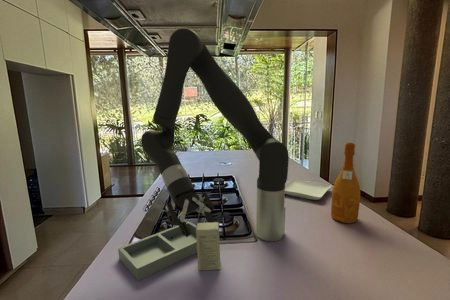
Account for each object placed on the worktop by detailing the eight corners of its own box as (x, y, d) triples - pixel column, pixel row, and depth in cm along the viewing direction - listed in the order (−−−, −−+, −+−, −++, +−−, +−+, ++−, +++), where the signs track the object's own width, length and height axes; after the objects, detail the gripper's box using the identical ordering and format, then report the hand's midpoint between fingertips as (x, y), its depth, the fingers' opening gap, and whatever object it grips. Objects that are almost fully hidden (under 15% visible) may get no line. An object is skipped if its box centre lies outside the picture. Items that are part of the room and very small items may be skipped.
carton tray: (189, 230, 94) (189, 221, 93) (212, 244, 84) (212, 234, 84) (119, 258, 77) (118, 248, 77) (138, 280, 68) (137, 268, 67)
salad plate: (292, 183, 145) (292, 177, 145) (332, 191, 133) (332, 184, 133) (276, 195, 128) (276, 188, 128) (320, 204, 116) (321, 197, 116)
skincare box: (220, 260, 76) (219, 221, 74) (220, 270, 72) (219, 229, 70) (198, 261, 76) (196, 222, 74) (197, 270, 72) (195, 229, 69)
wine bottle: (324, 215, 105) (330, 141, 99) (343, 211, 108) (349, 140, 103) (344, 226, 96) (351, 145, 90) (363, 221, 99) (371, 143, 94)
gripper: (160, 181, 73) (185, 234, 67) (201, 171, 83) (226, 217, 77) (153, 194, 78) (174, 244, 72) (192, 184, 88) (214, 227, 82)
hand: (201, 230), depth 74 cm, fingers open, 8 cm apart
